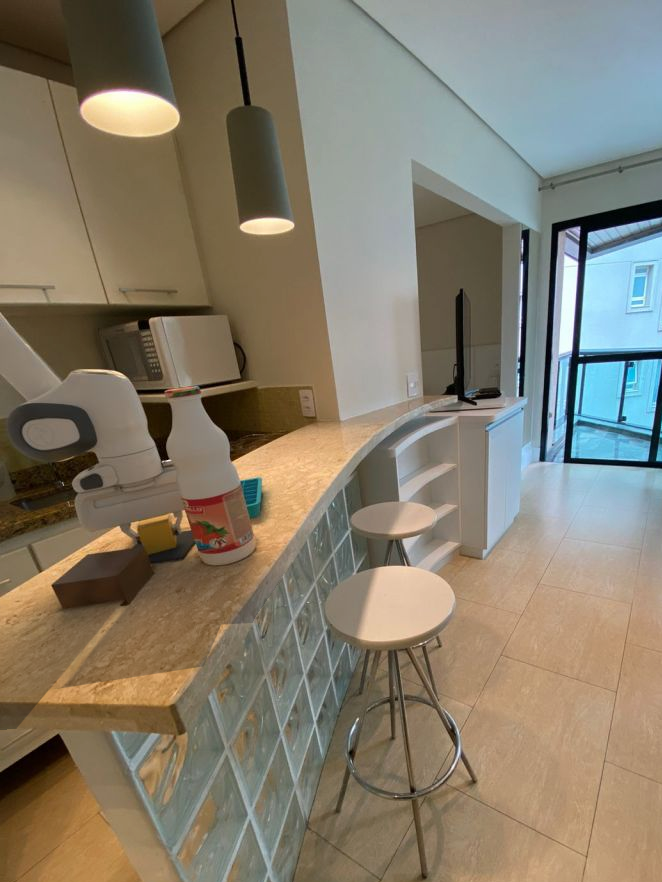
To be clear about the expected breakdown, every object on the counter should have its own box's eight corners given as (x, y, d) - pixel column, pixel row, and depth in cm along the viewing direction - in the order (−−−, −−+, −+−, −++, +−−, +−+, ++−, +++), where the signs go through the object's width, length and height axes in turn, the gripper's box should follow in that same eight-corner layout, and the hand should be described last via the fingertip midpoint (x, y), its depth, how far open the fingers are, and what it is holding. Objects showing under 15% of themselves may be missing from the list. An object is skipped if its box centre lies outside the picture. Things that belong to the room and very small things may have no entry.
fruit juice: (266, 550, 71) (224, 383, 60) (212, 573, 65) (156, 394, 54) (243, 535, 78) (202, 383, 67) (193, 555, 72) (139, 392, 61)
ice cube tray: (264, 487, 104) (261, 476, 102) (263, 517, 85) (260, 503, 84) (216, 496, 101) (213, 485, 100) (205, 528, 83) (201, 514, 82)
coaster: (113, 569, 70) (112, 567, 70) (143, 538, 82) (143, 536, 81) (183, 559, 71) (182, 557, 71) (204, 530, 82) (203, 528, 82)
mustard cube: (146, 555, 73) (136, 530, 71) (148, 544, 77) (139, 521, 75) (176, 547, 75) (167, 522, 73) (176, 537, 79) (168, 514, 77)
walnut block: (65, 614, 59) (50, 585, 57) (99, 580, 67) (87, 554, 65) (128, 605, 59) (116, 575, 57) (154, 572, 68) (144, 546, 66)
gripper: (196, 451, 76) (216, 518, 82) (68, 476, 69) (99, 547, 75) (198, 457, 71) (219, 528, 77) (59, 485, 64) (93, 562, 69)
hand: (159, 538), depth 75 cm, fingers closed on mustard cube, 5 cm apart
